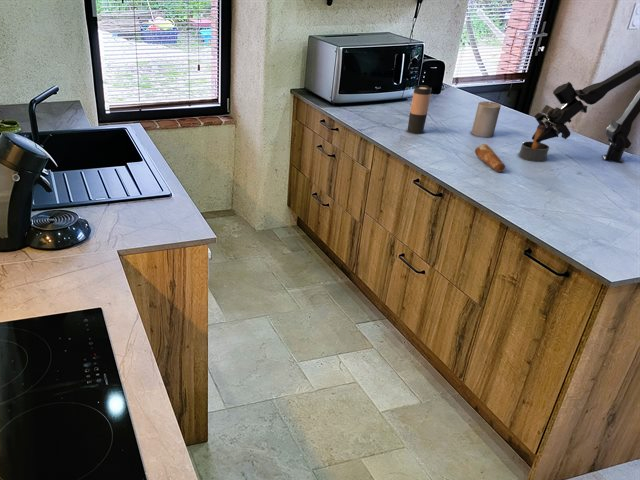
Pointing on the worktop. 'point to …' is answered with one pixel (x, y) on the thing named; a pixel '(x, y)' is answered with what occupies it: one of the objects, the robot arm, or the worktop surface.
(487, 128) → the pillar candle
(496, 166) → the bread
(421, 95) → the travel mug
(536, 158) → the bowl
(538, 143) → the stick
